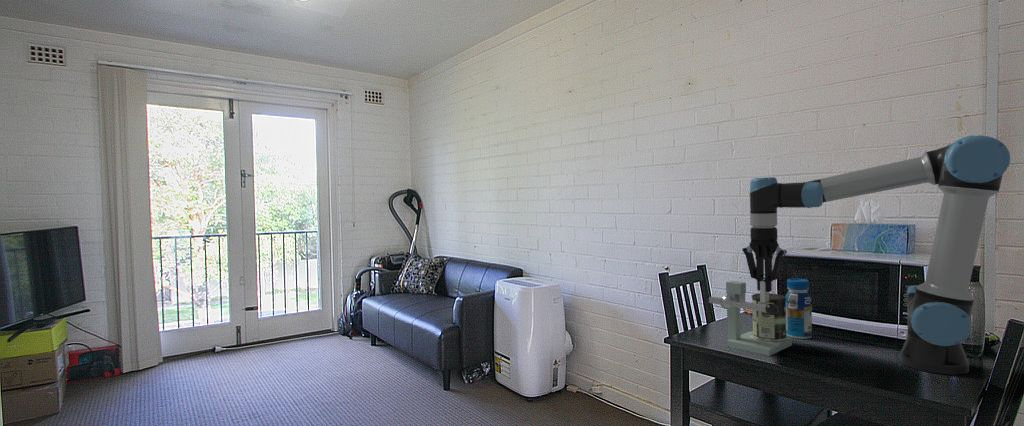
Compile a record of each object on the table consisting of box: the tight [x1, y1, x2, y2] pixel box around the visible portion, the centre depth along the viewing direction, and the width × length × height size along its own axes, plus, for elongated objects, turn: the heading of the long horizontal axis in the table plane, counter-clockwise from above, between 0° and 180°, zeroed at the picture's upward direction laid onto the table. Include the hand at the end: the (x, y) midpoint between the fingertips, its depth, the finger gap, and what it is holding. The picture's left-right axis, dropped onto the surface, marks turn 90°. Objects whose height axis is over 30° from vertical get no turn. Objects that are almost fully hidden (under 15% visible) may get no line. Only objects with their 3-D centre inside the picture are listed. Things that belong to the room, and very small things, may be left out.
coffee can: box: [751, 292, 787, 342], centre depth 167 cm, size 10×10×14 cm
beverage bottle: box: [784, 277, 813, 340], centre depth 175 cm, size 8×8×20 cm
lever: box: [708, 295, 778, 315], centre depth 161 cm, size 22×4×4 cm, turn 38°
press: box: [725, 280, 793, 357], centre depth 166 cm, size 15×18×21 cm
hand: (764, 301), depth 156 cm, fingers closed
